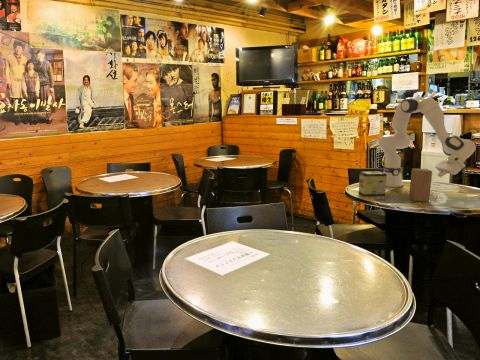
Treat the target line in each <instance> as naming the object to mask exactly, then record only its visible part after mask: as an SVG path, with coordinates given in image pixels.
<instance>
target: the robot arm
mask: <svg viewBox="0 0 480 360" xmlns="http://www.w3.org/2000/svg"><path fill="white" fill-rule="evenodd" d="M420 112H421V113H422V114H423V116H424V118H425V119H426V121H427V122H428V123H429V124H430V126H431V128H432V129H433V130H434V132H435V134H436V136H437V138H438V139H439V142H440V143H441V146H442V152H443V154H444V155H446V156H447V159H443V160H441V161H439V163H437V164H435V167H434V168H435V169H436V170H437V171H439V173H437V177H440V178H442V177H443V176H446V175H447V174H450V175H453V176H455V175H457V174H458V173H459V172H461V170H462V169H464V168H465V167H466V164H465V161H466V160H467V159H469V158H470V157H471V156H472V155H473V154H474V152H475V151H476V149H477V146H476V143H475V142H474V141H473V140H471V139H466V138H465V139H464V138H461V137H459V136H458V135H454V134H452V135H449V133H448V131H447V129H446V126H445V114H444V111H443V109H442V108H441V106H440V105H439V103H438V102H437V101H436V100H435V99H434V98H433V97H430V96H427V97H426V96H412V97H406V98H403V100H402V101H401V102H400V103H399V104H398V105H397V107H396V109H395V111H394V115H393V117H392V121H391V128H392V129H393V131H394V134H385V135H382V136H380V137H379V139H378V140H377V141H378V142H377V143H378V146H379V148H380V149H381V150H382V151H383V153H384V157H385V158H384V159H385V164H384V167H383V173H385V174H387V176H386V187H388V188H400V187H402V186H404V183H403V174H402V173H401V172H402V167H401V165H402V158H401V155H399V154H398V153H397V150H402V149H403V150H404V149H406V148H409V146H410V145H411V142H412V141H411V138H410V136H409V135H408V130H407V129H408V126H409V122H410V118H411V115H412V114H416V113H420Z"/></svg>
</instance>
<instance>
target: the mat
mask: <svg viewBox="0 0 480 360" xmlns="http://www.w3.org/2000/svg"><path fill="white" fill-rule="evenodd" d="M373 199H374V200H375V201H378V202H380V203H381V204H404V203H405V204H409V203H415V204H416V203H417V201H413V200H411V199H410V198H408V197H374V198H373Z"/></svg>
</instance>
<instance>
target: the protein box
mask: <svg viewBox="0 0 480 360" xmlns="http://www.w3.org/2000/svg"><path fill="white" fill-rule="evenodd" d="M383 172H384V171H383ZM383 172H382V171H379V170H378V171H377V170H375V171H359V175H358V176H359V180H358V181H359V182H358V184H359V185H358V194H360V195H361V196H362V197H385V196H386V192H387V190H386V189H387V186H386V176H387V174H385V173H383Z"/></svg>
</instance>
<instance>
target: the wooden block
mask: <svg viewBox="0 0 480 360" xmlns="http://www.w3.org/2000/svg"><path fill="white" fill-rule="evenodd" d="M432 177H433V171H432V170H430V169H428V168H413V167H412V168H411V174H410V183H409V193H408V197H409V198H408V199H410V200H412V201H414V202H424V203H425V202H430V196H431V186H432Z"/></svg>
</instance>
